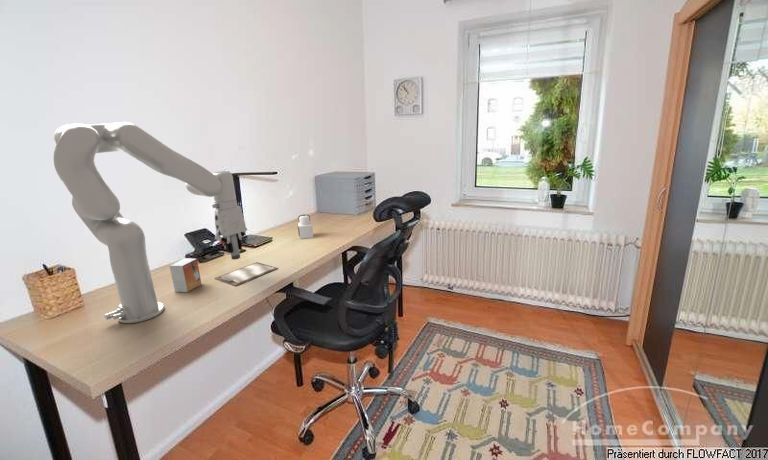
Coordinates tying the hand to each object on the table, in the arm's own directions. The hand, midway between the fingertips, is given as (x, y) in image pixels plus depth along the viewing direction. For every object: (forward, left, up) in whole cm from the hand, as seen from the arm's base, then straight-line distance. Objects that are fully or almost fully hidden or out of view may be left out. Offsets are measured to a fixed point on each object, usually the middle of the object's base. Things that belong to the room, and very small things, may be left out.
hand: (234, 250), depth 142 cm
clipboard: (+5, +1, -12) cm, 13 cm away
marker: (0, 0, -3) cm, 3 cm away
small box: (-15, +9, -12) cm, 22 cm away
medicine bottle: (+54, +18, -12) cm, 58 cm away
